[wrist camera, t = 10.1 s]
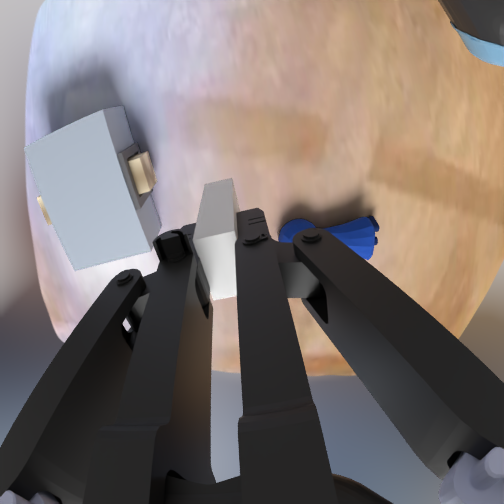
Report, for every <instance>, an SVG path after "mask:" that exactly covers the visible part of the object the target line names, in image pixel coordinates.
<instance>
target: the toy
mask: <svg viewBox="0 0 504 504" xmlns="http://www.w3.org/2000/svg"><path fill="white" fill-rule="evenodd" d="M308 228H316V227H315V226H314V225H313V224H312V223H311V222H309V221H307V220H305V219H295V220H291V221H290V222H288V223H286V224H285V225H284V226H283V227H282V229H281V231H280V235H279V238H278V240H279V242H293V241H292V239H293V236H294V235H295V234H296V233H298V232H300V231H302V230H305V229H308ZM323 229H325V230H327V231H329V232H330V233H331V234H333V235H334V236H335V237H337V238H338V239H339V240H340V241H342V242H343V243H344V244H346V245H347V246H348V247H349V248H351V249H352V250H353V251H354V252H356V253H357V254H358V255H360V256H361V257H362V258H363V259H367V260H369V259H370V258H371V256H372V255H373V250H374V245H377V243H378V239H377V237H375V232H378V231H379V225H378V223H377V222H376V220H375V218H374V217H373V216H370V217H369V218H367V217H360V218H358V219H355V220H353V221H350V222H348V223H345V224H342V225H337V226H333V227H329V228H323Z"/></svg>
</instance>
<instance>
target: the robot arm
mask: <svg viewBox="0 0 504 504" xmlns="http://www.w3.org/2000/svg"><path fill="white" fill-rule="evenodd" d="M438 1H439V3H440V4H441V6H442V8H443V9H444V11H445V12H446V14H447V16H448V17H449V19H450V23H451V25H452V27H453V28H454V29H455V30H456V31H457V32H458V34H459V35H460V37H461V39H462V40H463V42H464V44H465V46H466V47H467V49H468V50H469V51H470V52H471V53H472V54H473V55H474V56H476V57H478V58H479V59H480V60H482V61H484V62H487V63H490V64H494V65H498V66H504V0H438ZM292 241H293V242H278V241H275V240H273V239H272V238H271V236H270V234H269V230H268V226H267V223H266V219H265V215H264V212H263V211H262V210H260V209H259V208H255V209H250V210H246V211H241V212H240V208H239V204H238V200H237V196H236V192H235V188H234V184H233V180H232V178H230V179H225V180H221V181H217V182H213V183H209V184H205V187H204V191H203V195H202V200H201V204H200V208H199V213H198V218H197V222H196V223H193V224H189V225H185V226H183V227H182V228H181V229H175V230H170V231H167V232H165V233H163V234H161V235H159V236H158V237H156V238H155V239H154V240H153V242H152V243H153V245H154V248H155V250H156V253H157V255H158V258H159V260H160V262H159V265H158V268H157V271H156V272H154V273H152V274H149V275H147V276H144V277H143V276H142V274H141V272H140V271H139V270H138V269H130V270H124V271H122V272H120V273H119V274H118V275H116V276H115V277H114V278H113V279H112V280H111V281H110V282H109V284H108V285H107V286H106V288H105V289H104V290H103V291H102V293H101V294H100V295H99V297H98V298H97V299H96V301H95V302H94V303H93V304H92V306H91V307H90V308H89V310H88V311H87V313H86V314H85V315H84V317H83V318H82V319H81V321H80V322H79V323H78V325H77V326H76V328H75V329H74V330H73V332H72V333H71V335H70V336H69V337H68V339H67V340H66V342H65V343H64V345H63V346H62V347H61V349H60V350H59V352H58V353H57V355H56V356H55V358H54V359H53V361H52V362H51V364H50V365H49V367H48V368H47V370H46V371H45V373H44V374H43V376H42V377H41V379H40V380H39V382H38V384H37V385H36V387H35V388H34V390H33V392H32V393H31V395H30V396H29V398H28V400H27V402H26V403H25V405H24V406H23V408H22V410H21V412H20V413H19V415H18V417H17V418H16V420H15V422H14V423H13V425H12V427H11V429H10V431H9V433H8V434H7V436H6V438H5V440H4V442H3V444H2V445H1V447H0V504H393V503H391V502H390V501H388V500H386V499H385V498H383V497H381V496H380V495H378V494H377V493H375V492H374V491H372V490H370V489H369V488H367V487H366V486H364V485H362V484H361V483H359V482H356V481H354V480H352V479H349V478H347V477H344V476H341V475H336V474H332V473H331V468H330V464H329V459H328V455H327V451H326V446H325V442H324V438H323V433H322V429H321V425H320V421H319V417H318V413H317V409H316V406H315V404H314V402H313V399H312V395H311V391H310V387H309V383H308V379H307V374H306V370H305V366H304V362H303V358H302V354H301V350H300V346H299V342H298V338H297V334H296V330H295V326H294V322H293V318H292V314H291V310H290V306H289V302H288V299H287V298H301V299H302V302H303V304H304V306H305V307H306V308H307V310H308V311H309V312H310V314H311V315H312V316H313V317H314V319H315V320H316V321H317V323H318V324H319V325H320V327H321V328H322V329H323V331H324V332H325V333H326V335H327V336H328V337H329V339H330V340H331V341H332V343H333V344H334V345H335V347H336V348H337V349H338V351H339V352H340V353H341V355H342V356H343V357H344V359H345V360H346V361H347V363H348V364H349V365H350V367H351V368H352V369H353V371H354V372H355V373H356V375H357V376H358V377H359V379H360V380H361V381H362V382H363V384H364V385H365V387H366V388H367V389H368V391H369V392H370V393H371V395H372V396H373V397H374V398H375V400H376V401H377V403H378V404H379V405H380V407H381V408H382V409H383V411H384V412H385V413H386V415H387V416H388V417H389V419H390V420H391V421H392V423H393V424H394V425H395V427H396V428H397V429H398V431H399V432H400V434H401V435H402V436H403V438H404V439H405V440H406V442H407V443H408V444H409V446H410V447H411V448H412V450H413V451H414V453H415V454H416V455H417V456H418V457H419V459H420V460H421V461H422V462H423V463H424V464H425V466H426V467H427V468H428V469H430V470H431V471H432V472H433V473H434V474H435V475H436V476H437V477H438V478H440V479H441V480H443V481H442V482H441V485H440V489H439V501H440V503H441V504H504V383H503V382H502V381H501V380H500V379H499V378H498V377H497V376H496V375H495V374H494V373H493V372H492V371H491V370H490V369H489V368H488V367H487V366H486V365H485V364H484V363H483V362H482V361H480V360H479V359H478V358H477V357H476V356H475V355H474V354H473V353H472V352H471V351H470V350H469V349H468V348H467V347H466V346H464V345H463V344H462V343H461V342H460V341H459V340H458V339H457V338H456V337H455V336H454V335H453V334H452V333H450V332H449V331H448V330H447V329H446V328H445V327H444V326H443V325H442V324H440V323H439V322H438V321H437V320H436V319H435V318H434V317H433V316H431V315H430V314H429V313H428V312H427V311H426V310H425V309H423V308H422V307H421V306H420V305H419V304H418V303H416V302H415V301H414V300H413V299H412V298H411V297H409V296H408V295H407V294H406V293H405V292H403V291H402V290H401V289H400V288H399V287H398V286H396V285H395V284H394V283H393V282H392V281H390V280H389V279H388V278H387V277H385V276H384V275H383V274H382V273H381V272H379V271H378V270H377V269H376V268H374V267H373V266H372V265H371V264H370V263H368V262H367V261H366V260H365V259H363V258H362V257H361V256H360V255H358V254H357V253H356V252H354V251H353V250H352V249H351V248H349V247H348V246H347V245H346V244H344V243H343V242H342V241H340V240H339V239H338V238H337V237H335V236H334V235H333V234H331V233H330V232H329V231H327V230H325V229H320V228H308V229H305V230H302V231H300V232H298V233H296V234H295V235H294V236H293V239H292ZM210 292H211V295H212V298H213V300H219V299H224V298H229V297H234V296H237V310H238V330H239V348H240V366H241V383H242V400H243V416H242V417H240V418H239V422H238V442H239V461H240V476H238V477H234V478H231V479H228V480H225V481H222V482H219V483H216V480H215V477H214V475H213V472H212V469H211V456H210V455H211V449H210V448H211V447H210V446H211V436H210V433H211V432H210V431H211V430H210V427H211V425H210V424H211V422H210V421H211V420H210V419H211V418H210V417H211V358H212V325H213V306H212V303H211V301H210V298H209V296H210ZM125 318H126V319H127V321H128V322H129V324H130V326H131V328H130V329H129V331H126V329H125V328H124V326H123V321H124V320H125Z"/></svg>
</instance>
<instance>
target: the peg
mask: <svg viewBox="0 0 504 504" xmlns="http://www.w3.org/2000/svg"><path fill="white" fill-rule="evenodd" d="M127 161H128V164H129V167H130V170H131V173H132V176H133V179H134V182H135V185H136V188H137V191H138V194H142V193H145V192H149V191H151V189H152V188H153V186H154V185H155V184H156V182H157V179H156V176H155V172H154V169H153V166H152V163H151V160H150V156H149V153H148V151H146V152H143V153H140V154H137V155H134V156H131V157H129V158H127ZM37 200H38V202H39V205H40V207H41V210H42V212H43V214H44V217H45V219H46V221H47V224H48V225H51V224H52V222H51V220H50V218H49V215H48V213H47V210H46V208H45V206H44V203H43V201H42V198H41V196H39V197H37Z"/></svg>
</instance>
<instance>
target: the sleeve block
mask: <svg viewBox="0 0 504 504" xmlns="http://www.w3.org/2000/svg"><path fill="white" fill-rule="evenodd" d="M24 150H25V153H26V156H27V160H28V162H29V165H30V168H31V171H32V174H33V177H34V180H35V182H36V185H37V188H38V190H39V193H40V196H41V198H42V201H43V203H44V206H45V208H46V210H47V213H48V215H49V218H50V220H51V222H52V224H53V227H54V229H55V231H56V233H57V236H58V238H59V240H60V242H61V244H62V246H63V248H64V251H65V253H66V255H67V257H68V259H69V261H70V263H71V265H72V267H73V269H74V271H77V270H81V269H84V268H88V267H92V266H96V265H100V264H104V263H107V262H111V261H115V260H119V259H123V258H127V257H131V256H135V255H139V254H143V253H147V252H151V251H152V248H153V246H154V245H153V243H152V242H153V240H154V239H155V238H156V237H157V236H158V234H159V231H160V229H161V226H162V225H161V223H160V220H159V217H158V214H157V211H156V209H155V206H154V203H153V200H152V197H151V192H152V191H153V190H152V189H151V191H149V192H145V193H142V194H138V191H137V188H136V185H135V182H134V179H133V176H132V173H131V170H130V167H129V164H128V161H127V158H129V157H131V156H134V155H137V154H140V153H141V152H140V149H139V146H138V143H135V144H134V141H133V138H132V134H131V131H130V128H129V124H128V121H127V117H126V114H125V110H124V106H118V107H112V108H107V109H102V110H100V111H97V112H95V113H93V114H90V115H88V116H86V117H84V118H81V119H79V120H77V121H75V122H73V123H71V124H69V125H66V126H64V127H62V128H60V129H58V130H56V131H54V132H52V133H50V134H48V135H47V136H45V137H43V138H41V139H39V140H37V141H35V142H33V143H32V144H30V145H28V146H26V147H25V148H24Z"/></svg>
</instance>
